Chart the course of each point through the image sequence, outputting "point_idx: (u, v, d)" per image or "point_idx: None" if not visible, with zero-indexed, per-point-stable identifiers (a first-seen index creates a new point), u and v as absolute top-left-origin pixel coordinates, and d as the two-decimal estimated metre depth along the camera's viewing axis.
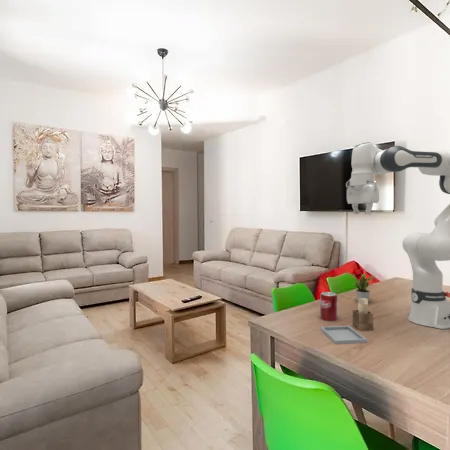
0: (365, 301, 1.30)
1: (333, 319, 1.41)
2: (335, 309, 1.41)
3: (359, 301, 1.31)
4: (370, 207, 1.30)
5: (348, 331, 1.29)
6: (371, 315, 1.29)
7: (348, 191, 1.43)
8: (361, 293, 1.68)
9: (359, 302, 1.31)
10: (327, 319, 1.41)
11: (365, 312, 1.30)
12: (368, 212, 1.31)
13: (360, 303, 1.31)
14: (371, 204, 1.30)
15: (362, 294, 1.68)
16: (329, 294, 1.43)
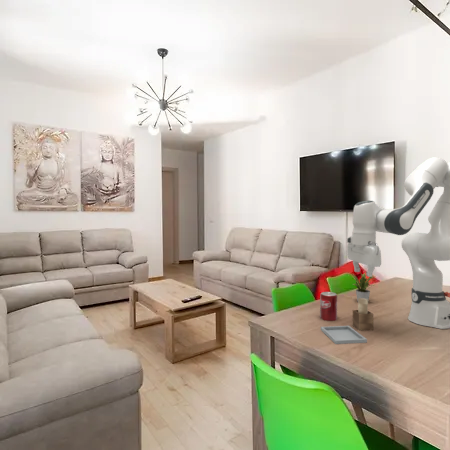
0: (365, 301, 1.30)
1: (333, 319, 1.41)
2: (335, 309, 1.41)
3: (359, 301, 1.31)
4: (372, 269, 1.25)
5: (348, 331, 1.29)
6: (371, 315, 1.29)
7: (349, 247, 1.38)
8: (361, 293, 1.68)
9: (359, 302, 1.31)
10: (327, 319, 1.41)
11: (365, 312, 1.30)
12: (369, 274, 1.26)
13: (360, 303, 1.31)
14: (373, 267, 1.25)
15: (362, 294, 1.68)
16: (329, 294, 1.43)
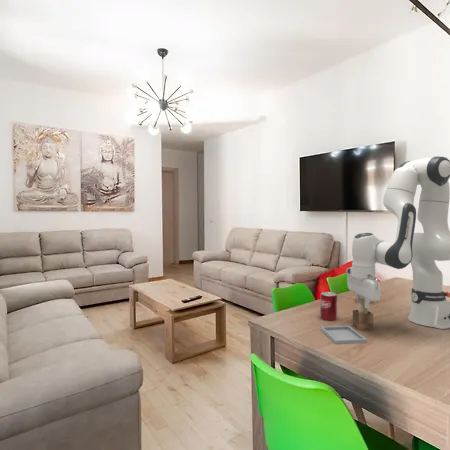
0: None
1: (333, 319, 1.41)
2: (335, 309, 1.41)
3: (359, 301, 1.31)
4: (368, 301, 1.28)
5: (348, 331, 1.29)
6: (371, 315, 1.29)
7: (349, 277, 1.39)
8: None
9: (359, 302, 1.31)
10: (327, 319, 1.41)
11: (365, 312, 1.30)
12: (366, 306, 1.29)
13: (360, 303, 1.31)
14: None
15: None
16: (329, 294, 1.43)
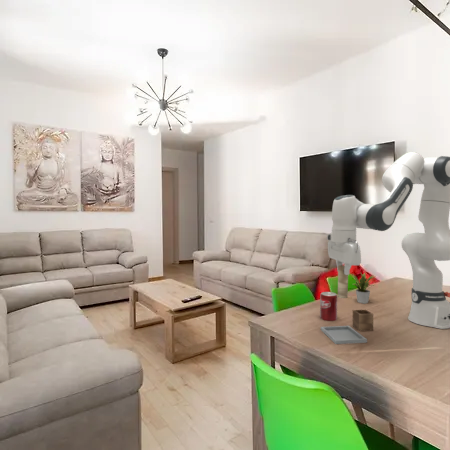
0: None
1: (333, 319, 1.41)
2: (335, 309, 1.41)
3: (339, 268, 1.23)
4: (348, 267, 1.19)
5: (348, 331, 1.29)
6: (371, 315, 1.29)
7: (329, 244, 1.30)
8: (361, 293, 1.68)
9: (339, 269, 1.23)
10: (327, 319, 1.41)
11: (345, 279, 1.22)
12: (346, 272, 1.20)
13: (340, 270, 1.22)
14: (349, 264, 1.19)
15: (362, 294, 1.68)
16: (329, 294, 1.43)
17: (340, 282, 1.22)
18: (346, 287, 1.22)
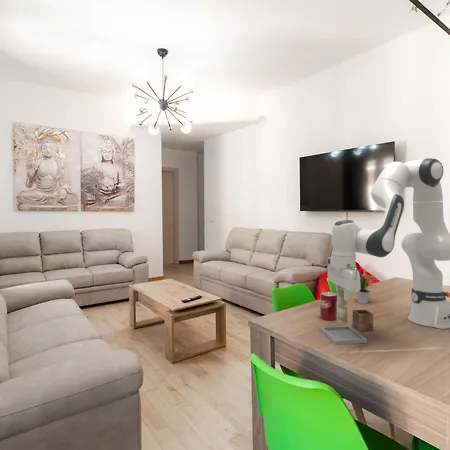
0: None
1: (333, 319, 1.41)
2: (335, 309, 1.41)
3: (338, 293, 1.23)
4: (348, 293, 1.20)
5: (348, 331, 1.29)
6: (371, 315, 1.29)
7: (329, 268, 1.31)
8: (361, 293, 1.68)
9: (338, 294, 1.23)
10: (327, 319, 1.41)
11: (345, 305, 1.22)
12: (346, 298, 1.20)
13: (340, 295, 1.22)
14: None
15: (362, 294, 1.68)
16: (329, 294, 1.43)
17: (340, 307, 1.22)
18: (346, 312, 1.22)
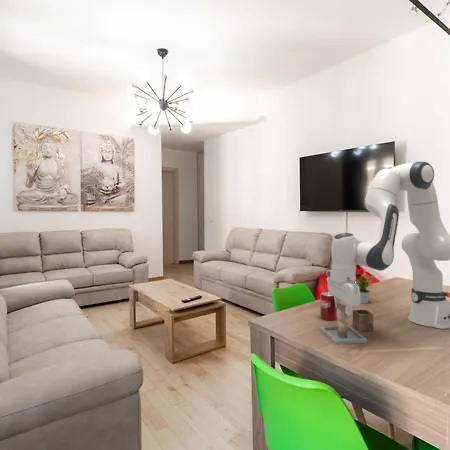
0: (345, 307, 1.22)
1: (333, 319, 1.41)
2: (335, 309, 1.41)
3: (339, 307, 1.23)
4: (350, 307, 1.18)
5: (348, 331, 1.29)
6: (371, 315, 1.29)
7: (329, 280, 1.31)
8: (361, 293, 1.68)
9: (339, 308, 1.23)
10: (327, 319, 1.41)
11: (345, 319, 1.22)
12: (348, 312, 1.19)
13: (340, 309, 1.23)
14: None
15: (362, 294, 1.68)
16: (329, 294, 1.43)
17: (340, 322, 1.23)
18: (346, 326, 1.23)
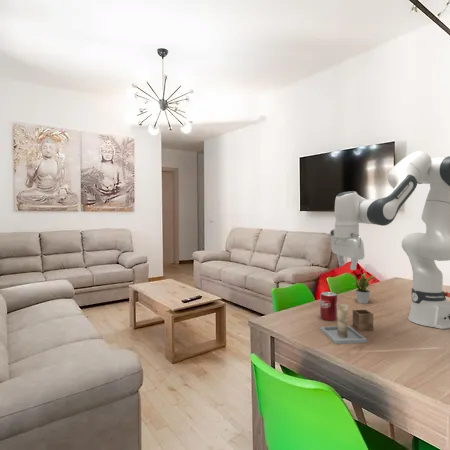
0: (345, 307, 1.22)
1: (333, 319, 1.41)
2: (335, 309, 1.41)
3: (339, 307, 1.23)
4: (355, 263, 1.20)
5: (348, 331, 1.29)
6: (371, 315, 1.29)
7: (332, 240, 1.33)
8: (361, 293, 1.68)
9: (339, 308, 1.23)
10: (327, 319, 1.41)
11: (345, 319, 1.22)
12: (353, 268, 1.21)
13: (340, 310, 1.23)
14: (356, 259, 1.20)
15: (362, 294, 1.68)
16: (329, 294, 1.43)
17: (340, 322, 1.23)
18: (346, 326, 1.23)
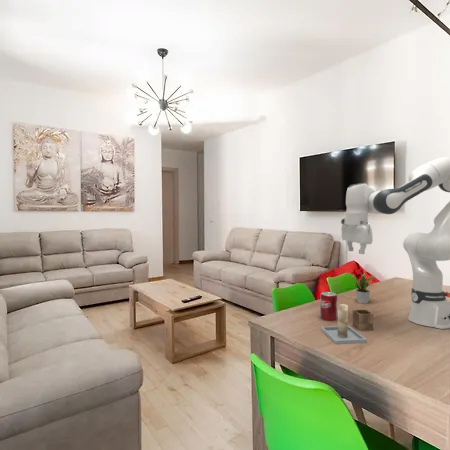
0: (345, 307, 1.22)
1: (333, 319, 1.41)
2: (335, 309, 1.41)
3: (339, 307, 1.23)
4: (364, 247, 1.33)
5: (348, 331, 1.29)
6: (371, 315, 1.29)
7: (343, 228, 1.46)
8: (361, 293, 1.68)
9: (339, 308, 1.23)
10: (327, 319, 1.41)
11: (345, 319, 1.22)
12: (362, 252, 1.34)
13: (340, 310, 1.23)
14: (365, 244, 1.32)
15: (362, 294, 1.68)
16: (329, 294, 1.43)
17: (340, 322, 1.23)
18: (346, 326, 1.23)
